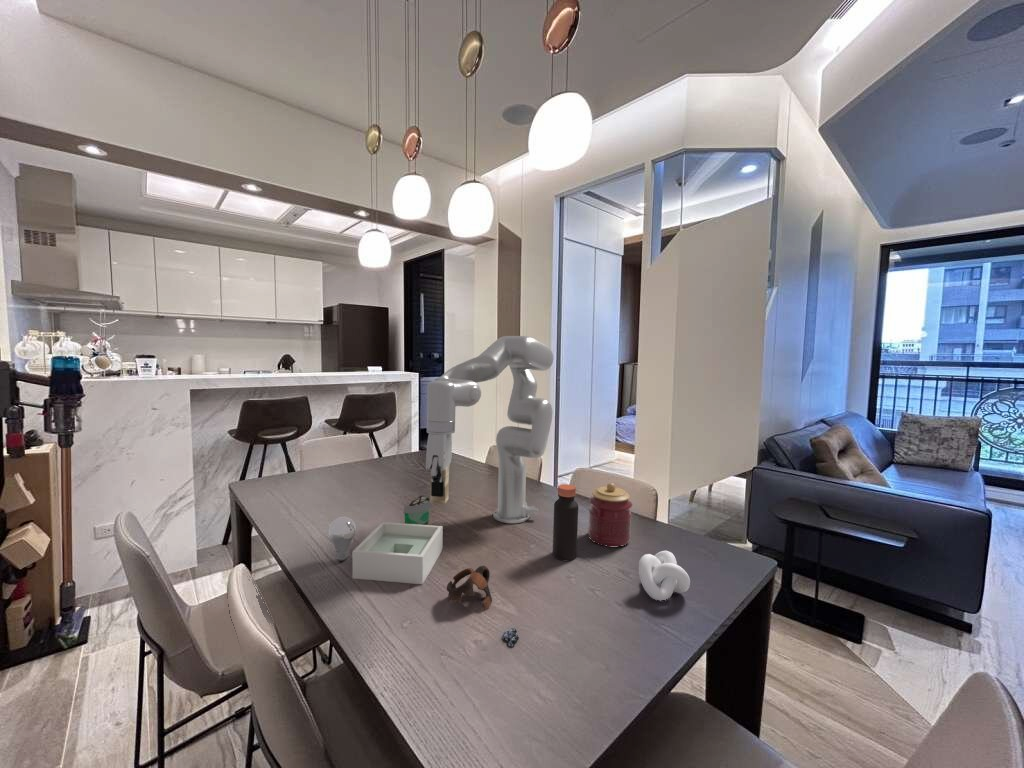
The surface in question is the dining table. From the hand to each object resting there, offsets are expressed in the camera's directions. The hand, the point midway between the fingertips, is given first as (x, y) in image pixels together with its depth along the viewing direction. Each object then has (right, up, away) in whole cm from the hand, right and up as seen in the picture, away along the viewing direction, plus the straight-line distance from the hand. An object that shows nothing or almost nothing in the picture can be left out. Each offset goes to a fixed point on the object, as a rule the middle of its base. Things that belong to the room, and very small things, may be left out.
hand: (439, 492), depth 114 cm
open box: (-10, -19, -1) cm, 21 cm away
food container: (-9, -17, +19) cm, 27 cm away
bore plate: (-10, -19, -1) cm, 21 cm away
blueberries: (+20, -22, -30) cm, 42 cm away
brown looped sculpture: (+11, -21, -17) cm, 29 cm away
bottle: (+35, -19, +5) cm, 40 cm away
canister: (+50, -19, +17) cm, 56 cm away
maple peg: (0, -2, 0) cm, 2 cm away
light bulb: (-26, -18, 0) cm, 32 cm away
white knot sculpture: (+56, -21, -11) cm, 61 cm away
